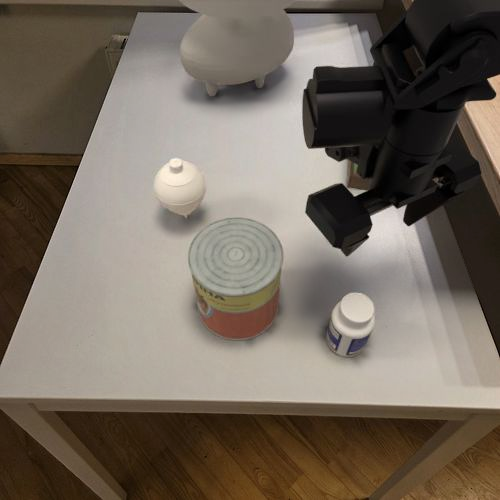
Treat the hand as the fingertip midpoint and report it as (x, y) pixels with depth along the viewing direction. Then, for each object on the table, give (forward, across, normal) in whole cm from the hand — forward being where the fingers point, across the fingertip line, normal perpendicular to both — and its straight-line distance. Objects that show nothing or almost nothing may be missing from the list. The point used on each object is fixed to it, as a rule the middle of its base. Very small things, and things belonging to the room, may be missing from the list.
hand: (376, 237), depth 54 cm
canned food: (+13, +16, -6) cm, 21 cm away
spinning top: (+13, +16, -24) cm, 32 cm away
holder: (+13, -18, -20) cm, 30 cm away
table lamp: (+13, -8, -51) cm, 54 cm away
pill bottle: (+13, +6, +5) cm, 15 cm away
